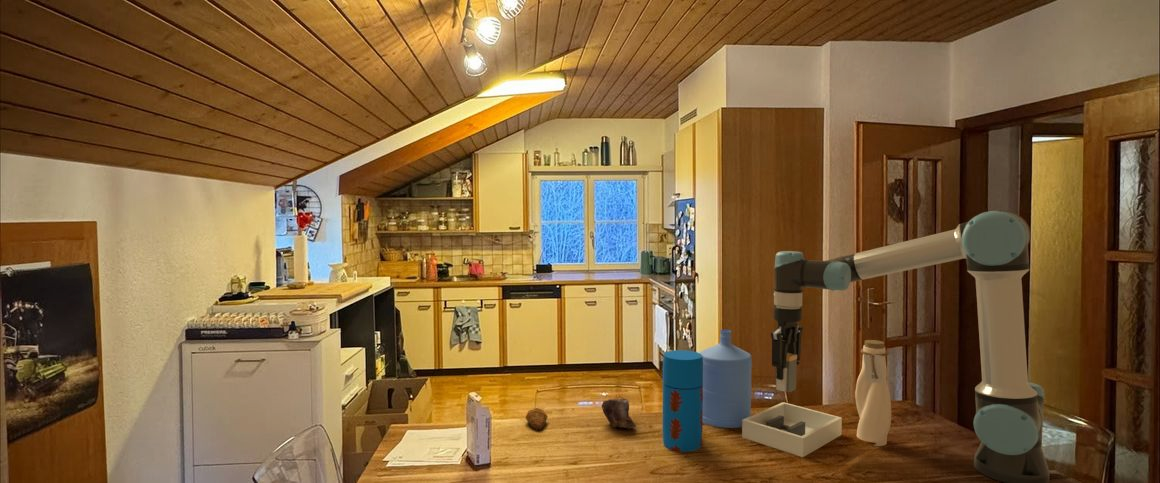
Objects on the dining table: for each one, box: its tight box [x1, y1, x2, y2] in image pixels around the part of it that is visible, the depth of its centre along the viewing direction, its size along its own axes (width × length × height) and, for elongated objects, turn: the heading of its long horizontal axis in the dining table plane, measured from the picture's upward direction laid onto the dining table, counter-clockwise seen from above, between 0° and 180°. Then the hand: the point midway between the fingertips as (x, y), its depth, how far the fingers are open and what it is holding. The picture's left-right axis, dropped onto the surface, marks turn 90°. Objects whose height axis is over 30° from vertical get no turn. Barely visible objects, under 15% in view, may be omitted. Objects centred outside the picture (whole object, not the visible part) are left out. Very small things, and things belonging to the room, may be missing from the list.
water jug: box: [699, 329, 753, 429], centre depth 184 cm, size 16×16×28 cm
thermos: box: [662, 349, 703, 453], centre depth 167 cm, size 11×11×25 cm
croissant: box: [525, 407, 548, 432], centre depth 184 cm, size 14×7×5 cm, turn 9°
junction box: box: [741, 401, 843, 458], centre depth 171 cm, size 18×22×6 cm
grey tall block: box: [775, 353, 798, 394], centre depth 171 cm, size 4×4×10 cm
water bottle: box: [854, 339, 892, 447], centre depth 168 cm, size 10×9×28 cm
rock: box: [601, 398, 636, 430], centre depth 182 cm, size 12×9×10 cm
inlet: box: [766, 415, 805, 436], centre depth 172 cm, size 8×8×4 cm
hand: (785, 388), depth 172 cm, fingers closed on grey tall block, 4 cm apart
